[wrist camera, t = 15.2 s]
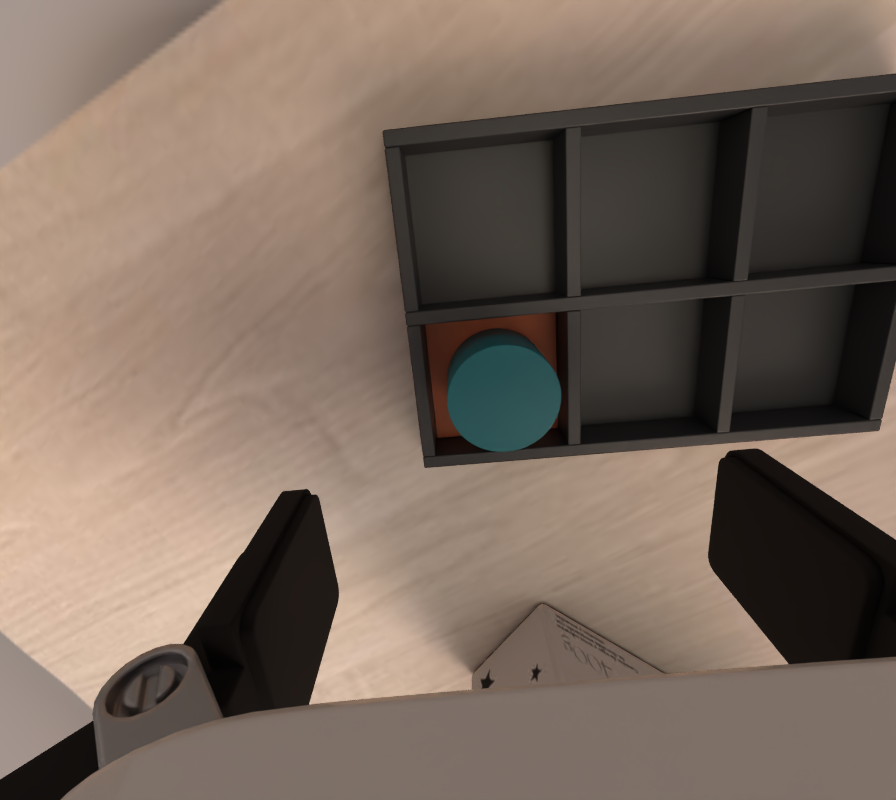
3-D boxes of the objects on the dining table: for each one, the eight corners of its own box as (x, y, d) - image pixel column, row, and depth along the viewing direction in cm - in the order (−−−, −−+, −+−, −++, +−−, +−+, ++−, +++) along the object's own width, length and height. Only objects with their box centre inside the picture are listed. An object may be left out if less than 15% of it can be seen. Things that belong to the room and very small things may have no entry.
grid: (391, 144, 20) (381, 129, 17) (897, 88, 19) (967, 65, 16) (427, 444, 25) (424, 468, 22) (834, 410, 24) (880, 431, 21)
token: (443, 332, 22) (441, 349, 18) (544, 323, 22) (561, 339, 18) (452, 425, 23) (452, 456, 20) (545, 417, 23) (562, 447, 20)
